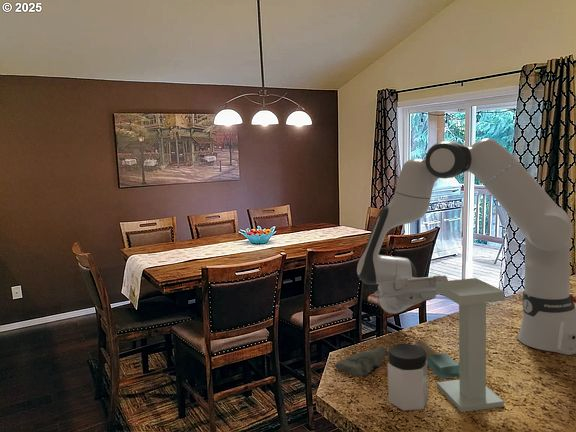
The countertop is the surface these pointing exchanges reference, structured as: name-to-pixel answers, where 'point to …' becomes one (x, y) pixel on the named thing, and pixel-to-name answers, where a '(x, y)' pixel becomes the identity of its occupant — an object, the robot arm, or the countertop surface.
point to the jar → (407, 377)
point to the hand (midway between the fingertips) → (422, 279)
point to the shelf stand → (471, 344)
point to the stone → (362, 362)
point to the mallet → (439, 362)
